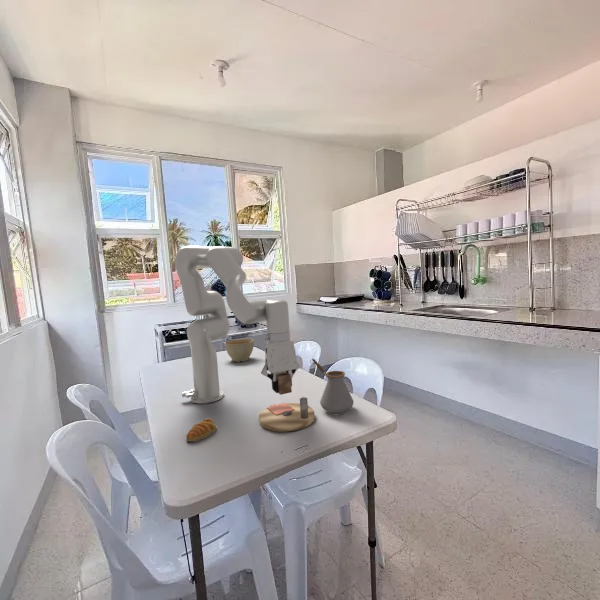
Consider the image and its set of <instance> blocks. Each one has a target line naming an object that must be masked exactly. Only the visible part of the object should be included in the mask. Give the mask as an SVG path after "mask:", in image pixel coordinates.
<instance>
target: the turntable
mask: <svg viewBox="0 0 600 600" xmlns="http://www.w3.org/2000/svg"><path fill="white" fill-rule="evenodd" d="M308 404H309V403H308V397H305V396H304V397H303V396H302V397H300V398H299V402H298V403H297V402H282V403H277V404H276V405H274V404H272V405H273V406H271V407H270V406H268V407H266V408H265V409H263V410H262V411H261V412H260V414H259V417H258V418H259V424H260V425H261V427H263V428H264V429H266V430H269V431H273V432H280V433H281V432H283V433H285V432H287V433H288V432H293V431H299V430H302V429H304V428H307V427H309V426H310V425H311V424H313V422H315V410H314V409H313V408H312V407H311V406H309V405H308Z"/></svg>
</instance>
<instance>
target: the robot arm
mask: <svg viewBox="0 0 600 600" xmlns="http://www.w3.org/2000/svg"><path fill="white" fill-rule="evenodd" d="M174 259H175V260H174V265H175V266H174V267H175V270H176V274H177V276H178V279H179V281H180V285H181V289H182V290H181V291H182V294H183V300H184V304H185V308H186V312H187V313H188V315H190V316H191V317H200V316H206V315H208V317H206V318H205V317H204V318H200V319H196V320H194V321H192V322H191V323H190V324H189V325H188V326H187V328H186V335H187V336H186V337H187V340H188V342H189V346H190V352H191V363H192V364H191V365H192V374H193V375H192V376H193V386H192V389H190V390H188V391H187V390H186V391H182V392H181V397H182V398H185V397H186V399H187V398H188V399H189V398H190V402H192V403H194V404H202V405H203V404H210V403H216V402H217V401H219V400H221V399H222V398H224V396H225V394H224V391H223V390H221V389H220V380H219V366H218V364H219V363H218V356H217V355H218V354H217V350H216V347H215V346H214V345H213V344H212V342H213V341H218V340H221V339H224V338H225V337H226V336H228V334H229V331H230V324H229V323H230V322H229V318H228V313H227V308H226V305H225V304H226V303H227V306H228V308H229V309H230V311H231V312H232V313H233V315H234V316H235V317H236V318H237V320H238V321H239V322H241V323H242V324H244V325H253V324H256V323H261V322H265V321H266V335H263V340H266V342H265V349H264V366H263V368H262V369H261V371H260V374H261V375H262V376H265V377H267V378H268V379H270V380H271V389H272V391H273V392H275V394H279V393H278V392H279V389H278V381H277V373H279V372H284V371H285V372H287V373H289V374H291V387H293V381H292V380H293V377H294V375H295V373H296V371H298V370H299V369H300V368H301V365H300V364H299V362H298V360H297V351H296V348H295V347H296V346H295V344H294V340H293V339H291V331H290V330H291V329H290V316H289V314H290V313H289V304H288V302H287V301H286V300H284V299H276V300H271V299H257V300H248V299H247V297H245V295H244V294H243V292H242V290H241V288H240V287H241V286H242V285H244V283H245V281H246V280H247V274H246V272H245V271H244V270H243V268H242V267H241V266H242V265H243V262H244V257H243V253H242V252H241V251H240V249H238V248H236V247H234V246H226V245H225V246H223V245H222V246H220V245H217V246H204V245H186V246H183V247H181V248H180V249H179V250H178V251H177V253H176V255H175V258H174ZM197 269H212V270H213V271H214V273H215V274H216V276H217V277H218V278H219V280H220V281H221V283H222V284H223V285H224V287H225V299H224V298H223V296H222V294H220V293H219V292H218V291H216V290H206V286H205V281H204V279H203V277H202V275H201V274H200V273H199V271H198V270H197ZM225 300H226V303H225Z"/></svg>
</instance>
